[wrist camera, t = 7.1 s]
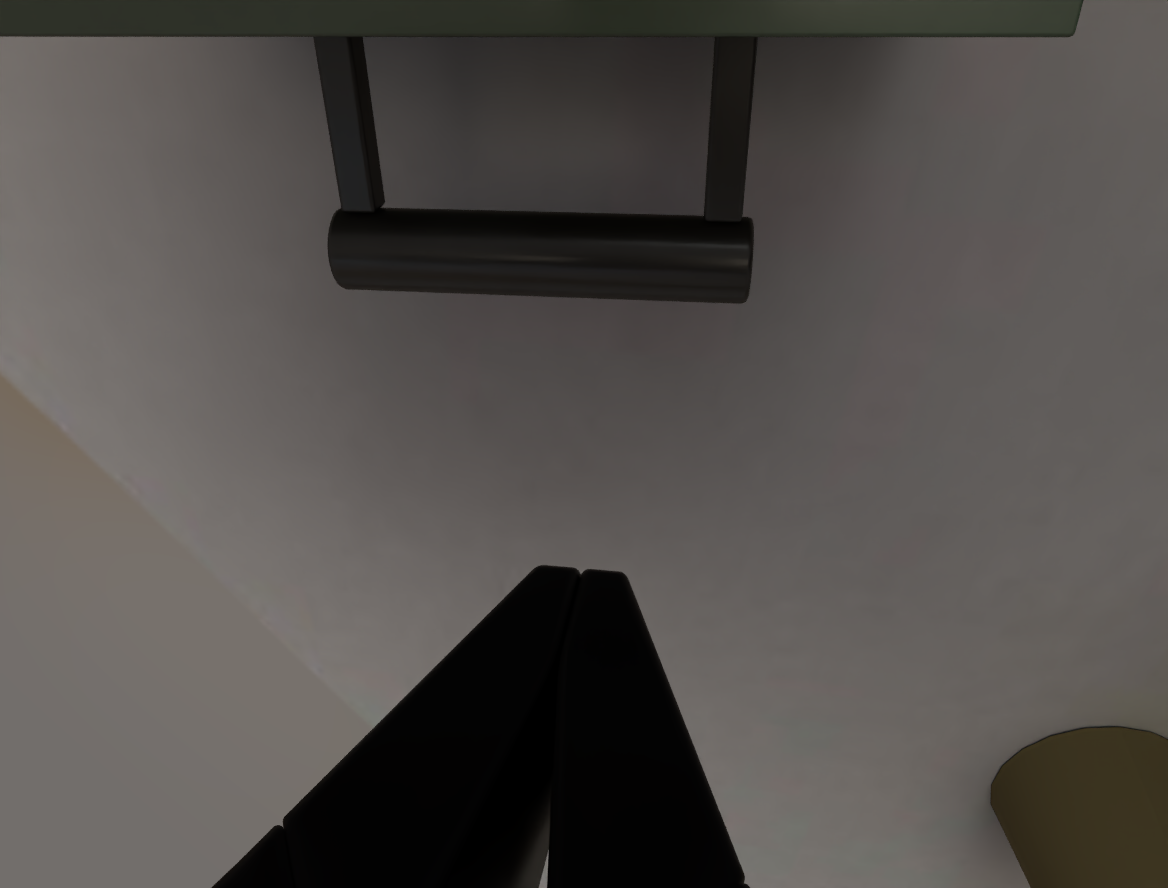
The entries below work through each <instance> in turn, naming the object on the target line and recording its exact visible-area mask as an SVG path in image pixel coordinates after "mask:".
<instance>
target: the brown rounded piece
mask: <svg viewBox="0 0 1168 888" xmlns="http://www.w3.org/2000/svg"><path fill="white" fill-rule="evenodd" d="M991 805H992V808H993V810H994V812H995V814H996V816H997V818H998V820H999V822H1000V824H1001V826H1002V828H1003V830H1004V833H1005V835H1006V837H1007V839H1008V841H1009V843H1010V845H1011V847H1012V849H1013V851H1014V853H1015V855H1016V858H1017V860H1018V862H1019V864H1020V866H1021V868H1022V870H1023V872H1024V874H1025V876H1026V878H1027V881H1028V883H1029V885H1030V887H1031V888H1168V740H1167V739H1165V738H1163V737H1161V736H1158V735H1156V734H1154V733H1151V732H1145V731H1139V730H1133V729H1127V728H1122V727H1109V728H1084V729H1079V730H1075V731H1071V732H1067V733H1062V734H1058V735H1054V736H1050V737H1048V738H1046V739H1044V740H1041V741H1039V742H1037V743H1035V744H1033V745H1031V746H1029V747H1026V748H1024V749H1022V750H1021V751H1020V752H1019V753H1018V754H1016V755H1015V756H1014V757H1013V758H1012V759H1010V760H1009V761H1008V762H1007V763H1006V764H1004V765H1003V766H1002V768H1001V769H1000V771H999V773H998V775H997V776H996V778H995V780H994V782H993V783H992V786H991Z"/></svg>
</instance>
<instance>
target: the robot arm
mask: <svg viewBox="0 0 1168 888" xmlns="http://www.w3.org/2000/svg"><path fill="white" fill-rule="evenodd" d="M283 827H284V828H283ZM283 827H282V826H280V825H277V826H274V827H273V828H272V829H271V830H270V831H269V832H268V833H267V834H266V835H265V836H264V837H263V838H262V839H261V840H260V841H259V842H258V843H257V844H256V845H255V846H254V847H253V848H252V849H251V850H250V851H249V852H248V853H247V854H246V855H245V856H244V857H243V858H242V859H241V860H240V861H239V862H238V863H237V864H236V865H235V866H234V867H233V868H232V869H231V870H230V871H228V873H226V874H225V875H224V876H223V877H222V878H221V879H220V880H219V881H218V882H217V883H216V884H215V885H214V886H213V887H212V888H539V884H540V880H541V876H542V873H543V869H544V865H545V861H546V857H547V853H548V850H549V858H548V881H547V888H750V887H749V886H748V885H747V884H744V880H745V876H744V873H743V870H742V867H741V865H740V862H739V860H738V857H737V855H736V852H735V850H734V847H733V845H732V842H731V839H730V837H729V834H728V832H727V829H726V827H725V824H724V822H723V819H722V817H721V814H720V811H719V809H718V806H717V804H716V801H715V799H714V796H713V794H712V791H711V789H710V786H709V783H708V781H707V778H706V776H705V773H704V771H703V768H702V766H701V763H700V761H699V758H698V755H697V753H696V750H695V748H694V745H693V743H692V740H691V738H690V735H689V733H688V730H687V727H686V725H685V722H684V720H683V717H682V715H681V712H680V710H679V707H678V705H677V702H676V699H675V697H674V694H673V692H672V689H671V687H670V684H669V682H668V679H667V677H666V674H665V671H664V669H663V666H662V664H661V661H660V659H659V656H658V654H657V651H656V649H655V646H654V643H653V641H652V638H651V636H650V633H649V631H648V628H647V626H646V623H645V621H644V618H643V615H642V613H641V610H640V608H639V605H638V603H637V600H636V598H635V595H634V593H633V590H632V587H631V585H630V582H629V580H628V578H627V576H626V575H625V574H624V573H622V572H619V571H608V570H596V569H587V570H585V571H583V573H582V574H580V572H579V570H577V569H576V568H573V567H561V566H549V565H540V566H538V567H536V568H534V569H533V570H532V571H531V572H530V573H529V574H528V575H527V576H526V577H525V578H524V579H523V580H522V581H521V582H520V583H519V584H518V585H517V586H516V587H515V588H514V589H513V590H512V591H511V592H510V593H509V594H508V595H507V596H506V597H505V598H504V599H503V600H502V601H501V602H500V603H499V604H498V605H497V606H496V607H495V608H494V609H493V610H492V611H491V612H490V613H489V614H488V615H487V616H486V617H485V618H484V619H483V620H482V621H481V622H480V623H479V624H478V625H477V626H476V627H475V628H474V629H473V630H472V631H471V632H470V633H469V634H468V635H467V636H466V637H465V638H464V639H463V640H462V641H461V642H460V643H459V644H458V645H457V646H456V647H455V648H454V649H453V650H452V651H451V652H450V653H449V654H448V655H447V656H446V657H445V658H444V659H443V660H442V661H441V662H440V663H438V664H437V665H436V666H435V667H434V668H433V669H432V670H431V671H430V672H429V673H428V674H427V675H426V676H425V677H424V678H423V679H422V680H421V681H420V682H419V683H418V684H417V685H416V686H415V687H414V688H413V689H412V690H411V691H410V692H409V693H408V694H407V695H406V696H405V697H404V698H403V699H402V700H401V701H400V702H399V703H398V704H397V705H396V706H395V707H394V708H393V709H392V710H391V711H390V712H389V713H388V714H387V715H386V716H385V717H384V718H383V719H382V720H381V721H380V722H379V723H378V724H377V725H376V726H375V727H374V728H373V729H372V730H371V731H370V732H369V733H368V734H367V735H366V736H365V737H364V738H363V739H362V740H361V741H360V742H359V743H358V744H357V745H356V746H355V747H354V748H353V749H352V750H351V751H350V752H349V753H348V754H347V755H346V756H345V757H344V758H343V759H342V760H341V761H340V762H339V763H338V764H337V765H336V766H335V767H334V768H333V769H332V770H331V771H330V772H329V773H328V774H327V775H326V776H325V777H324V778H323V779H322V780H321V781H320V782H319V783H318V784H317V785H316V786H315V787H314V788H313V789H312V790H311V791H310V792H309V793H308V794H307V795H306V796H305V797H304V798H303V799H302V800H301V801H300V802H299V803H298V804H297V805H296V806H295V807H294V808H293V809H292V810H291V811H290V812H289V813H288V814H287V815H286V816H285V817H284V819H283Z"/></svg>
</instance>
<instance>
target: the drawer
mask: <svg viewBox="0 0 1168 888" xmlns="http://www.w3.org/2000/svg"><path fill="white" fill-rule="evenodd" d="M1082 4H1083V0H0V36H24V37H314V43H315V49H316V56H317V62H318V68H319V74H320V80H321V86H322V92H323V98H324V105H325V111H326V117H327V123H328V129H329V135H330V141H331V148H332V154H333V160H334V166H335V172H336V178H337V184H338V190H339V197H340V203H341V208H340V209H338V210H337V211H336V212H335V213H334V215H333V217H332V220H331V223H330V227H329V233H328V257H329V263H330V267H331V271H332V274H333V276H334V279H335V280H336V282H337V283H338V284H339V285H340V286H341V287H343V288H345V289H352V290H379V291H406V292H434V293H461V294H489V295H516V296H543V297H571V298H598V299H625V300H653V301H680V302H708V303H735V304H742V303H745V302H746V301H747V299H748V296H749V291H750V284H751V274H752V262H753V245H754V225H753V221H752V219H751V218H749V217H742V214H743V203H744V191H745V180H746V168H747V156H748V145H749V133H750V121H751V110H752V98H753V86H754V75H755V63H756V51H757V40H758V37H1070V36H1073V35H1074V33H1075V30H1076V26H1077V23H1078V19H1079V15H1080V11H1081V7H1082ZM363 37H715V41H714V57H713V73H712V89H711V106H710V122H709V138H708V154H707V170H706V186H705V203H704V216H697V215H657V214H617V213H576V212H536V211H496V210H455V209H415V208H380V207H382V206H383V205H384V203H385V198H384V191H383V184H382V176H381V169H380V161H379V154H378V147H377V139H376V132H375V125H374V117H373V110H372V102H371V95H370V88H369V80H368V73H367V66H366V58H365V51H364V43H363Z"/></svg>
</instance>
